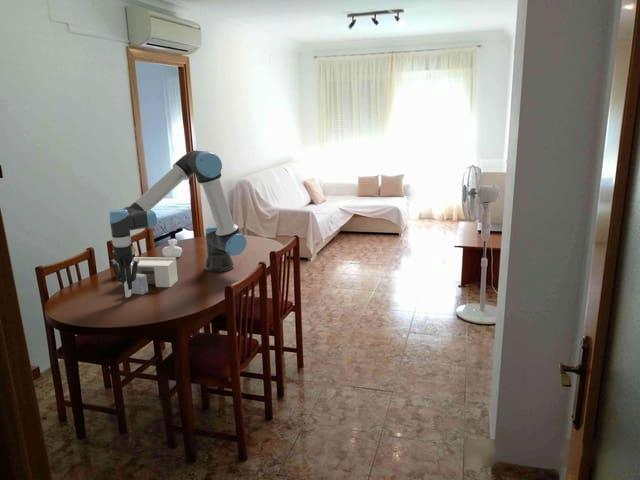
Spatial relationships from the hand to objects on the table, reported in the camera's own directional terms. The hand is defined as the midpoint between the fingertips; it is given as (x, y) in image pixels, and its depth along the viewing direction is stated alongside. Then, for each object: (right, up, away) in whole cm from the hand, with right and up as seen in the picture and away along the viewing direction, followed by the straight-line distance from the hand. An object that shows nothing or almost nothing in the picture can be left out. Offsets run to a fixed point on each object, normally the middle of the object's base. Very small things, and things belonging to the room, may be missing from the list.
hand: (128, 296), depth 223 cm
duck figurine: (0, +15, +68) cm, 70 cm away
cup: (-15, +7, +37) cm, 40 cm away
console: (+2, +4, +22) cm, 23 cm away
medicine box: (+1, 0, +10) cm, 10 cm away
